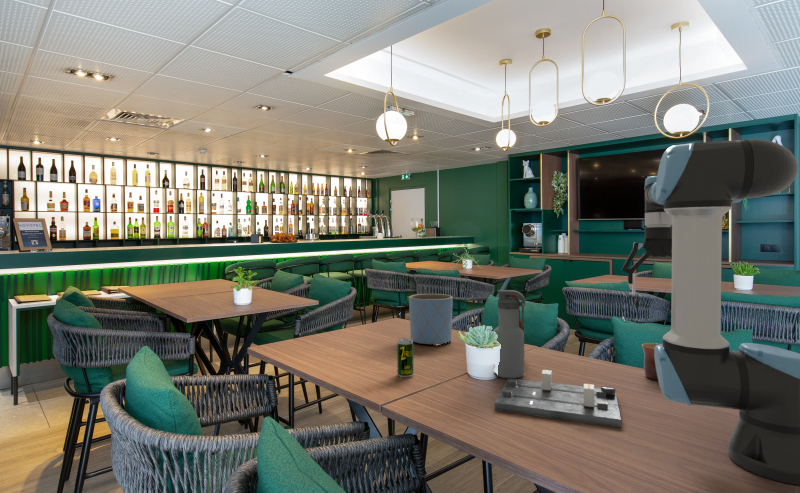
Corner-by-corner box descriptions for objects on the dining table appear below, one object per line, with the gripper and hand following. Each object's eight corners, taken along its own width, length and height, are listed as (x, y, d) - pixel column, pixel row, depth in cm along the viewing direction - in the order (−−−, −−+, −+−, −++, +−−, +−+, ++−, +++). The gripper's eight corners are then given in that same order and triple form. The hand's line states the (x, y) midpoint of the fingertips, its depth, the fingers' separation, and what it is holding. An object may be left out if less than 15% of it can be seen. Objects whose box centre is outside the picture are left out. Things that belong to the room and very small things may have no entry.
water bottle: (525, 371, 151) (525, 289, 150) (525, 380, 141) (525, 292, 141) (494, 369, 153) (494, 288, 153) (492, 378, 144) (492, 292, 143)
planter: (460, 340, 198) (459, 295, 197) (440, 349, 181) (440, 300, 181) (422, 335, 208) (422, 292, 207) (401, 343, 192) (400, 297, 191)
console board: (621, 427, 106) (621, 411, 106) (494, 410, 117) (494, 395, 117) (614, 396, 126) (614, 383, 126) (507, 384, 138) (507, 372, 138)
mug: (637, 373, 148) (638, 342, 148) (666, 374, 146) (666, 343, 146) (650, 384, 136) (650, 351, 136) (682, 386, 134) (682, 352, 134)
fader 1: (551, 390, 125) (551, 374, 125) (541, 389, 126) (541, 373, 126) (551, 385, 129) (551, 370, 129) (542, 384, 130) (542, 369, 130)
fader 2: (594, 407, 113) (594, 389, 113) (583, 405, 114) (583, 387, 114) (593, 401, 116) (593, 384, 116) (583, 400, 117) (583, 383, 117)
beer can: (395, 373, 149) (395, 338, 149) (410, 372, 151) (410, 337, 151) (400, 378, 144) (399, 342, 144) (415, 377, 146) (415, 340, 145)
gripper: (703, 226, 135) (703, 295, 136) (613, 227, 145) (613, 292, 145) (709, 225, 128) (709, 298, 129) (614, 227, 138) (614, 295, 138)
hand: (658, 295), depth 137 cm, fingers open, 13 cm apart
